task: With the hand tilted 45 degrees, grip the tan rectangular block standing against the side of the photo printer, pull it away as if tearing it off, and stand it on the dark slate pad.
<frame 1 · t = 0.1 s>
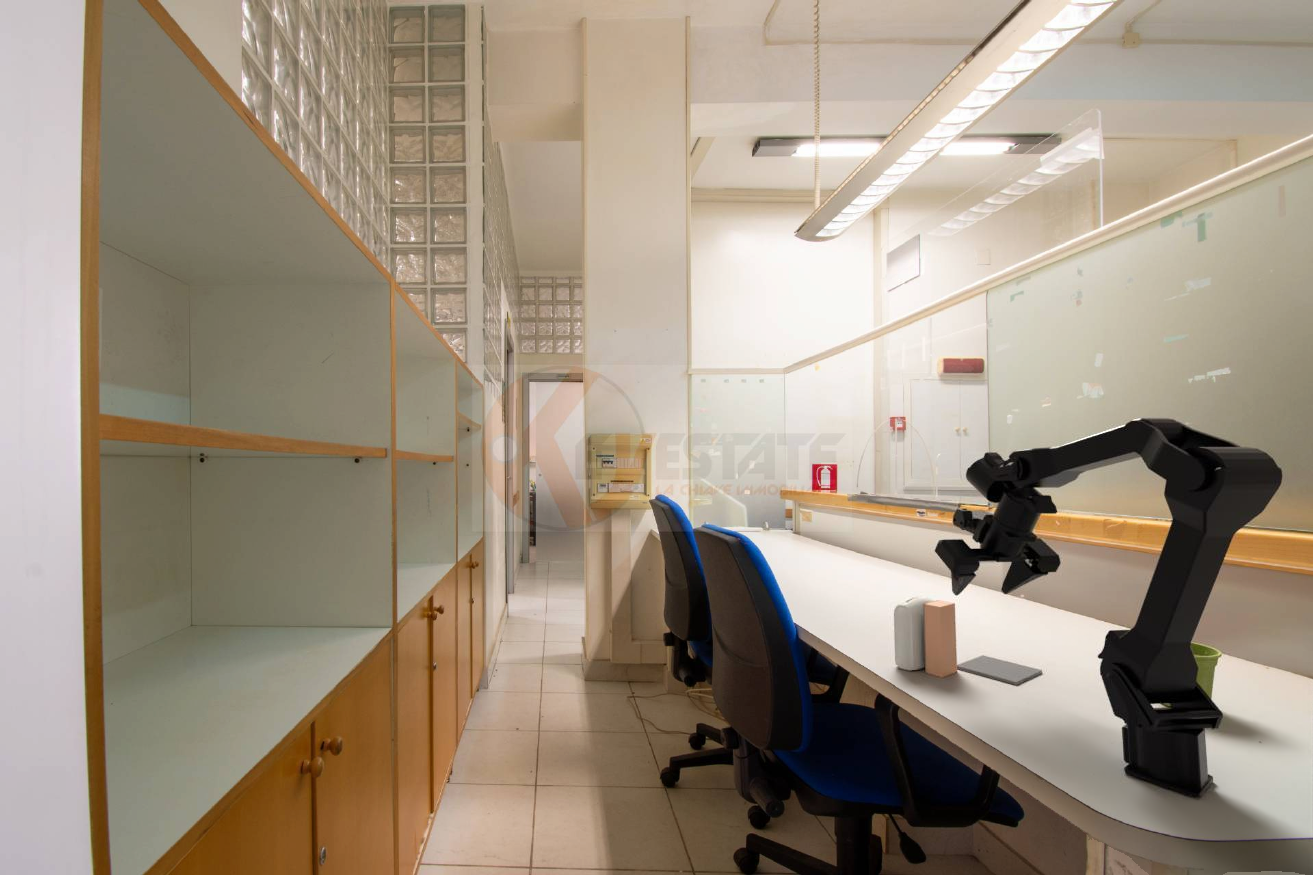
hand: (979, 592, 96), 15 cm above the table, tool tilted 35°, fingers open, 9 cm apart
pad: (998, 670, 100), on the table
plant pot: (1182, 705, 85), on the table
tan rectangular block: (941, 671, 99), on the table
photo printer: (918, 665, 103), on the table
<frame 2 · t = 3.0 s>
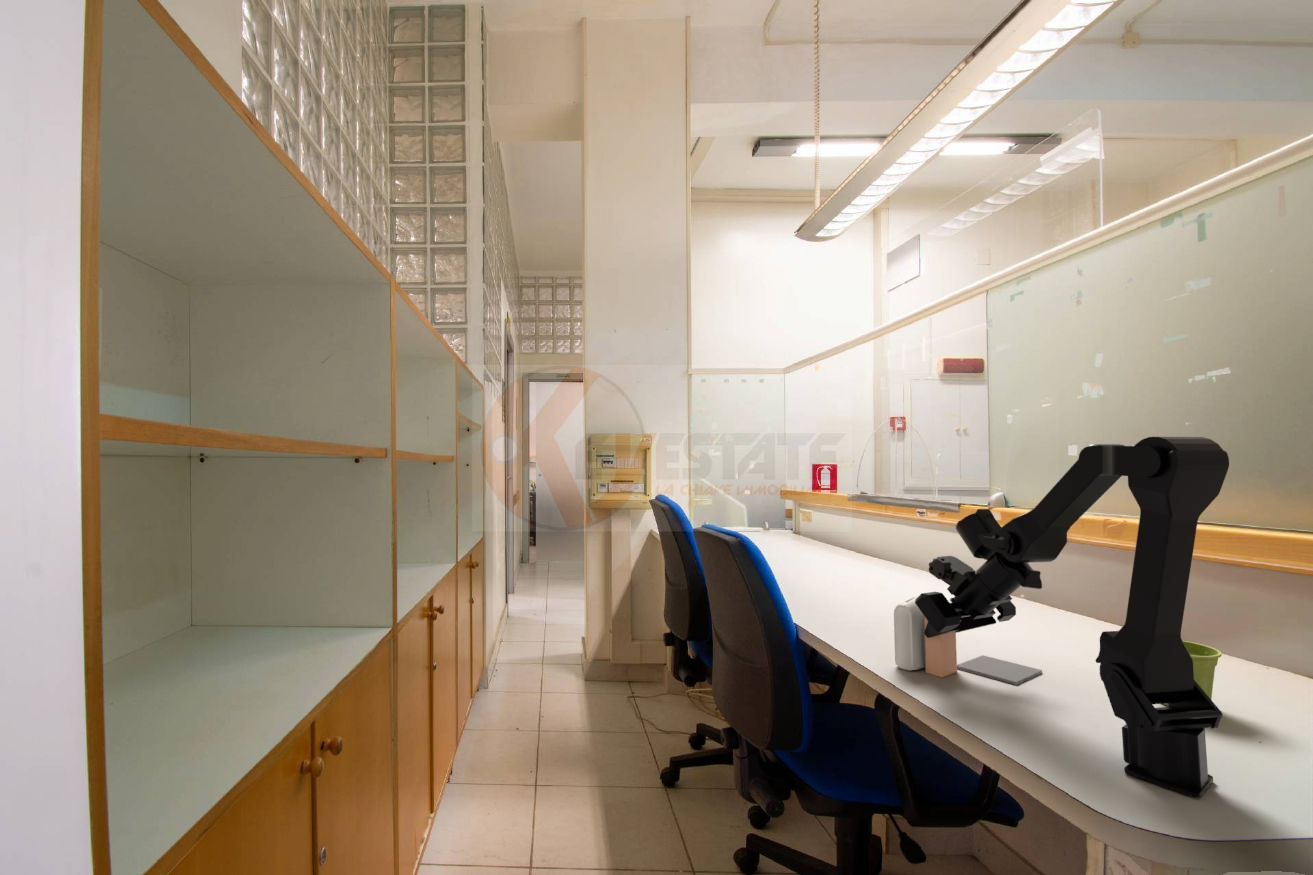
hand: (937, 633, 100), 7 cm above the table, tool tilted 45°, fingers closed on tan rectangular block, 5 cm apart
tan rectangular block: (941, 671, 99), on the table, touching gripper
everything else where it was.
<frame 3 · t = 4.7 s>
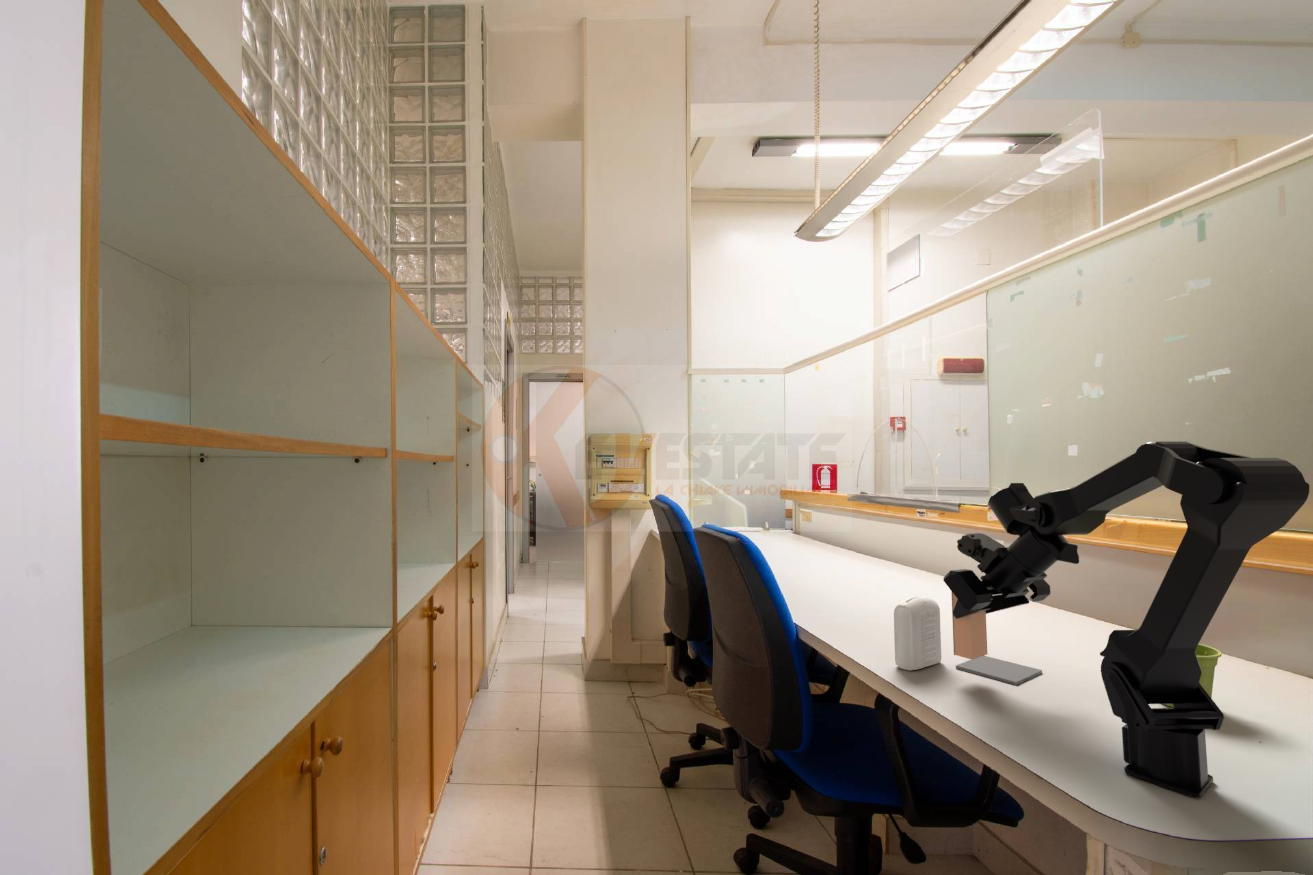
hand: (966, 614, 96), 11 cm above the table, tool tilted 45°, fingers closed on tan rectangular block, 5 cm apart
tan rectangular block: (970, 654, 95), point 4 cm above the table, touching gripper
everything else where it was.
when the fingers open (8 cm above the table, at t = 6.3 s): tan rectangular block stays where it is, resting on pad.
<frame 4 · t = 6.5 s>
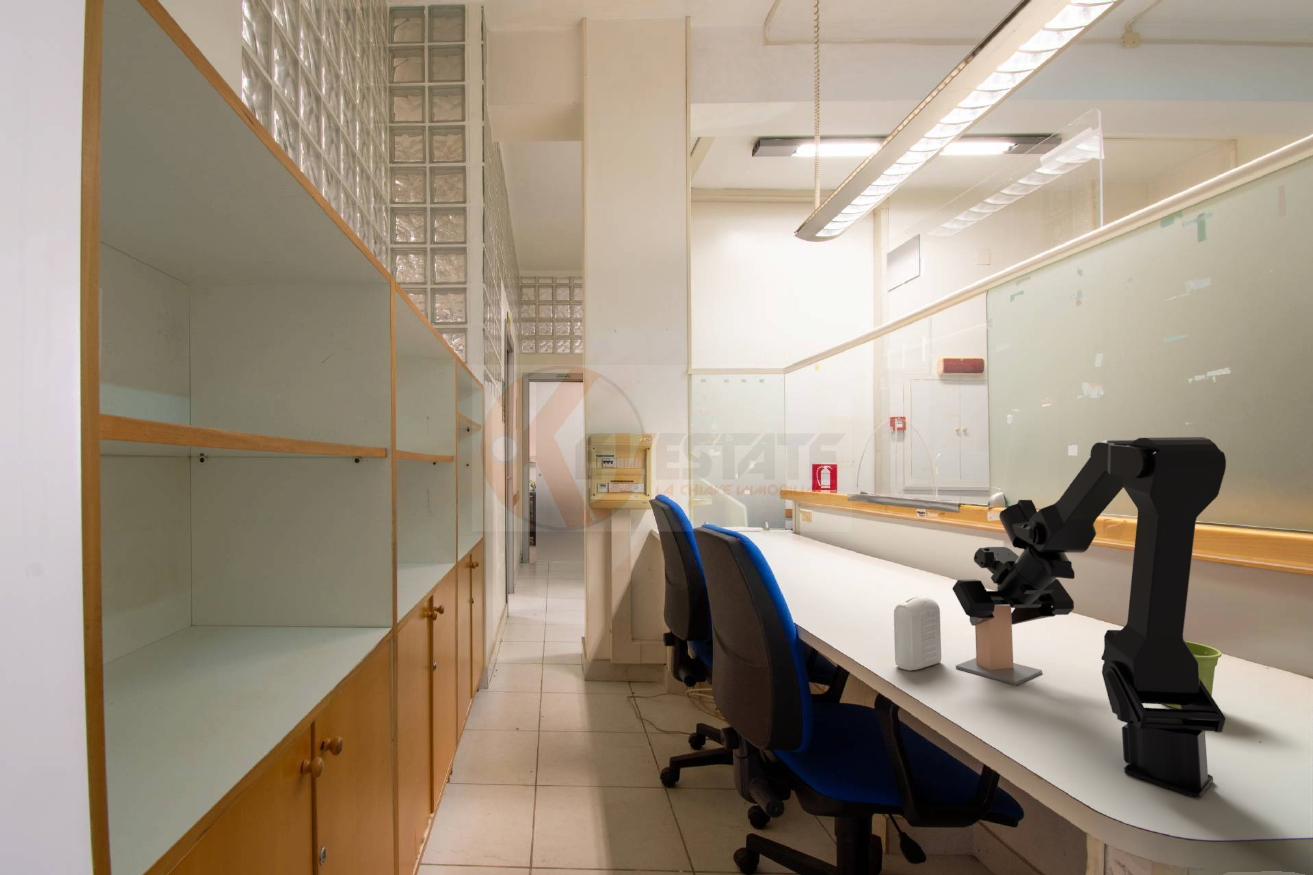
hand: (991, 622, 102), 8 cm above the table, tool tilted 45°, fingers open, 7 cm apart
tan rectangular block: (994, 665, 101), point 1 cm above the table, touching pad
everything else where it was.
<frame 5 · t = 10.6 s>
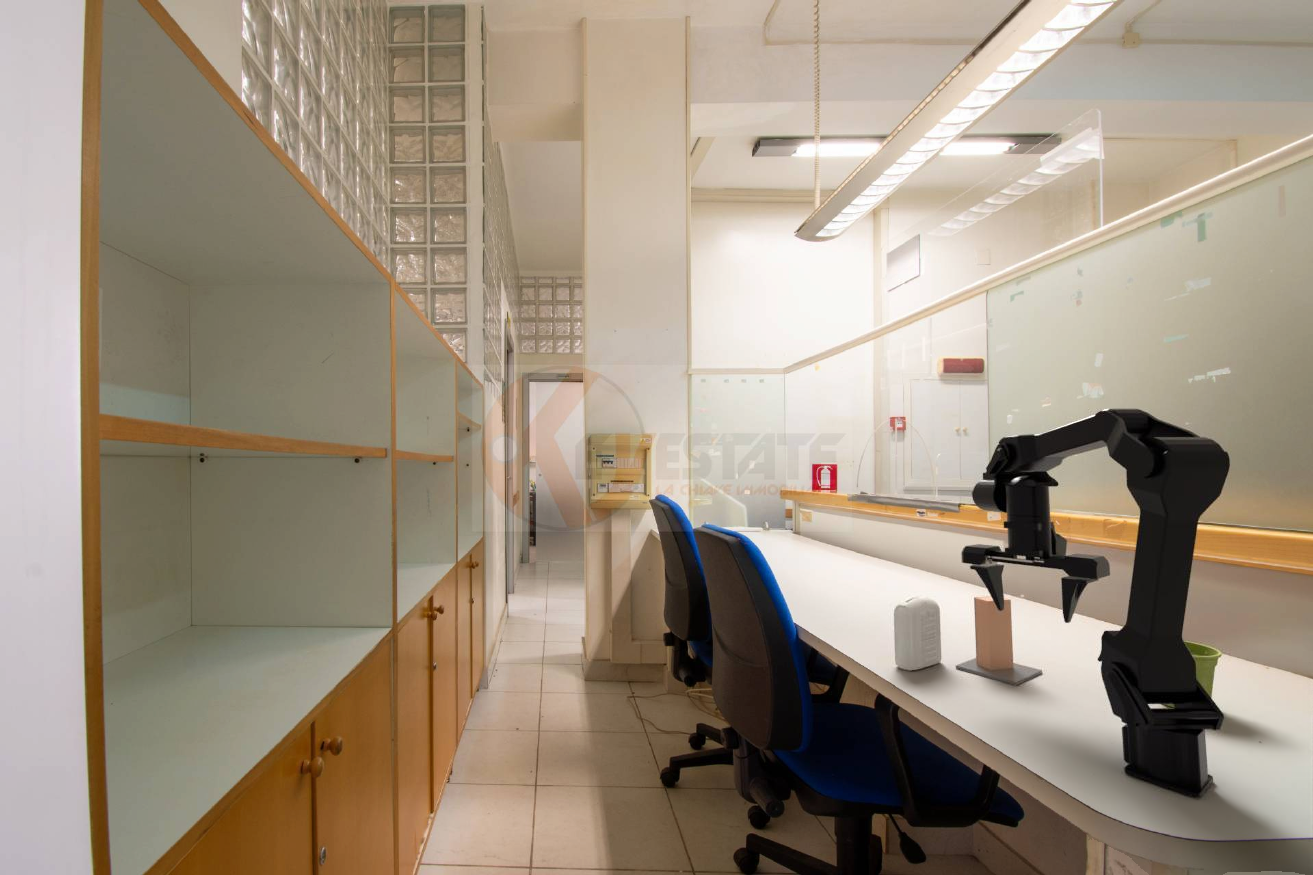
hand: (1032, 616, 87), 13 cm above the table, tool pointing down, fingers open, 9 cm apart
nothing on the table moved.
at the end: tan rectangular block inside the target area on the pad (0.9 cm from its centre), point 0.5 cm above the pad's base; tan rectangular block touching pad; the gripper is holding nothing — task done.
